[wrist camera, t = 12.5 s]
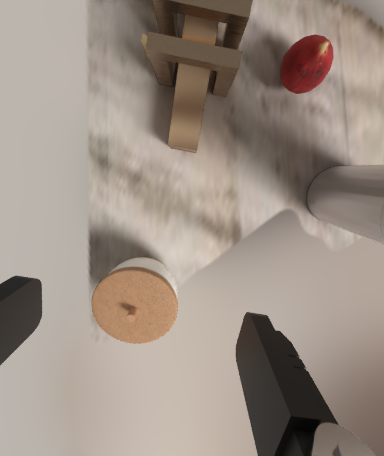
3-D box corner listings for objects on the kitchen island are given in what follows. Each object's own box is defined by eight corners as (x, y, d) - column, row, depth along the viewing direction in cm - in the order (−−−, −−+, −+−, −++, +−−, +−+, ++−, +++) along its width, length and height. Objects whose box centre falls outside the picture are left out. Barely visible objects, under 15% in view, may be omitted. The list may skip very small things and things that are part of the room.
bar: (190, 9, 28) (190, -24, 23) (219, 15, 28) (225, -17, 24) (171, 148, 33) (167, 144, 28) (196, 153, 33) (196, 150, 28)
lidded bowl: (139, 317, 41) (120, 367, 31) (100, 267, 38) (64, 304, 28) (193, 288, 40) (193, 331, 29) (156, 234, 37) (142, 260, 26)
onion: (312, 96, 31) (352, 71, 23) (273, 104, 31) (300, 82, 23) (311, 50, 29) (353, 7, 22) (270, 59, 30) (297, 20, 22)
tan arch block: (235, 49, 29) (252, -2, 21) (225, 97, 31) (238, 68, 22) (151, 31, 29) (133, -29, 20) (146, 81, 30) (128, 45, 22)
